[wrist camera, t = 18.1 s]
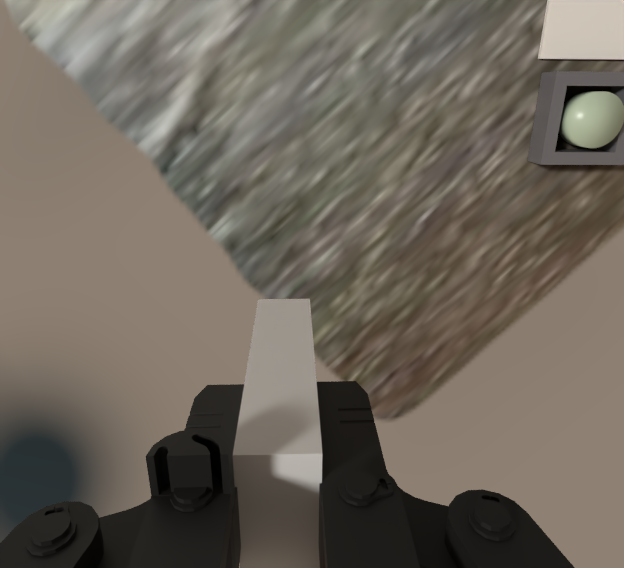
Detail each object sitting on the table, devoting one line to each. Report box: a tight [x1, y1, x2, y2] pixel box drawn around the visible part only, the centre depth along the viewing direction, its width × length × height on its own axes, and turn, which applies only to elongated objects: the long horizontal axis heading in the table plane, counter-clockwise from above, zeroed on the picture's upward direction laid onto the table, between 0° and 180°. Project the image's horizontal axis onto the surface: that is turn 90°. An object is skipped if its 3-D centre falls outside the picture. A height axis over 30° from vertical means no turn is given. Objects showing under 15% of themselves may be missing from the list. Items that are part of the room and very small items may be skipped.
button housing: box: [527, 71, 624, 165], centre depth 40 cm, size 7×7×2 cm
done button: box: [559, 91, 624, 148], centre depth 39 cm, size 4×4×2 cm
